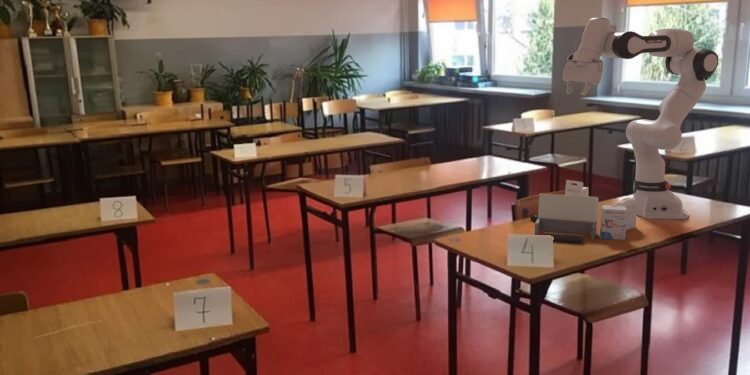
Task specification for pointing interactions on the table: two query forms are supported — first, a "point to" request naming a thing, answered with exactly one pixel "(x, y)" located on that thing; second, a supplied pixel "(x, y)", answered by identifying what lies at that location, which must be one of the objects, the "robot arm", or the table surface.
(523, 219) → the table surface
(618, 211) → the ink box
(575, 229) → the cable channel
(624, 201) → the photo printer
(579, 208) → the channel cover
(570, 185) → the ink cartridge box
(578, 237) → the dark grey bar
